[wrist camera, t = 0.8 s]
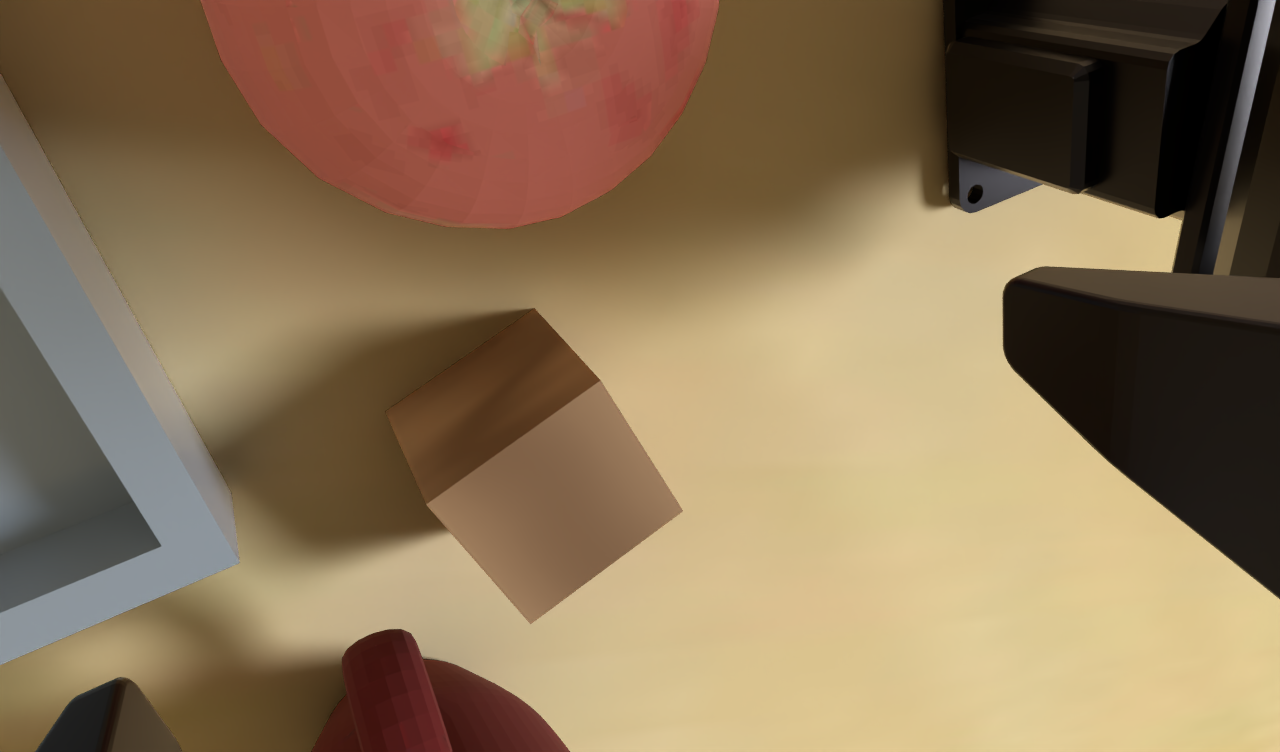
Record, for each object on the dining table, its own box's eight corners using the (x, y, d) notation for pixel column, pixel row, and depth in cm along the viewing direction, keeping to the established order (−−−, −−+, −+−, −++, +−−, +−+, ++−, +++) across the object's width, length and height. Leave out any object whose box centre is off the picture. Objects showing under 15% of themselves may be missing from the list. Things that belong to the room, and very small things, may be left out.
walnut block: (533, 307, 21) (600, 380, 18) (611, 426, 24) (683, 511, 20) (384, 410, 21) (425, 504, 18) (478, 522, 23) (530, 624, 20)
